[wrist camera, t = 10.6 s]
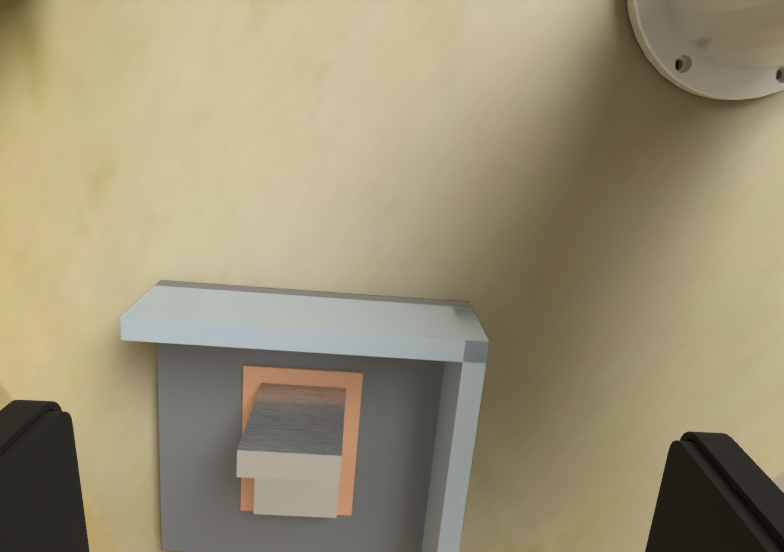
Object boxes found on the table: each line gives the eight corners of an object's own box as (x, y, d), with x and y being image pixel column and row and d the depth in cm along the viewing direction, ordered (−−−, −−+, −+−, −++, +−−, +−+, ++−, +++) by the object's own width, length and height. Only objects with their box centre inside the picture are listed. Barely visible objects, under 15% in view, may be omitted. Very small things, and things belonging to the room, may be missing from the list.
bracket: (261, 382, 35) (237, 450, 28) (346, 388, 36) (341, 456, 29) (257, 498, 37) (234, 585, 31) (337, 502, 38) (331, 589, 31)
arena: (469, 302, 36) (489, 341, 30) (436, 551, 41) (447, 625, 35) (161, 280, 34) (120, 317, 29) (166, 539, 39) (132, 614, 34)
